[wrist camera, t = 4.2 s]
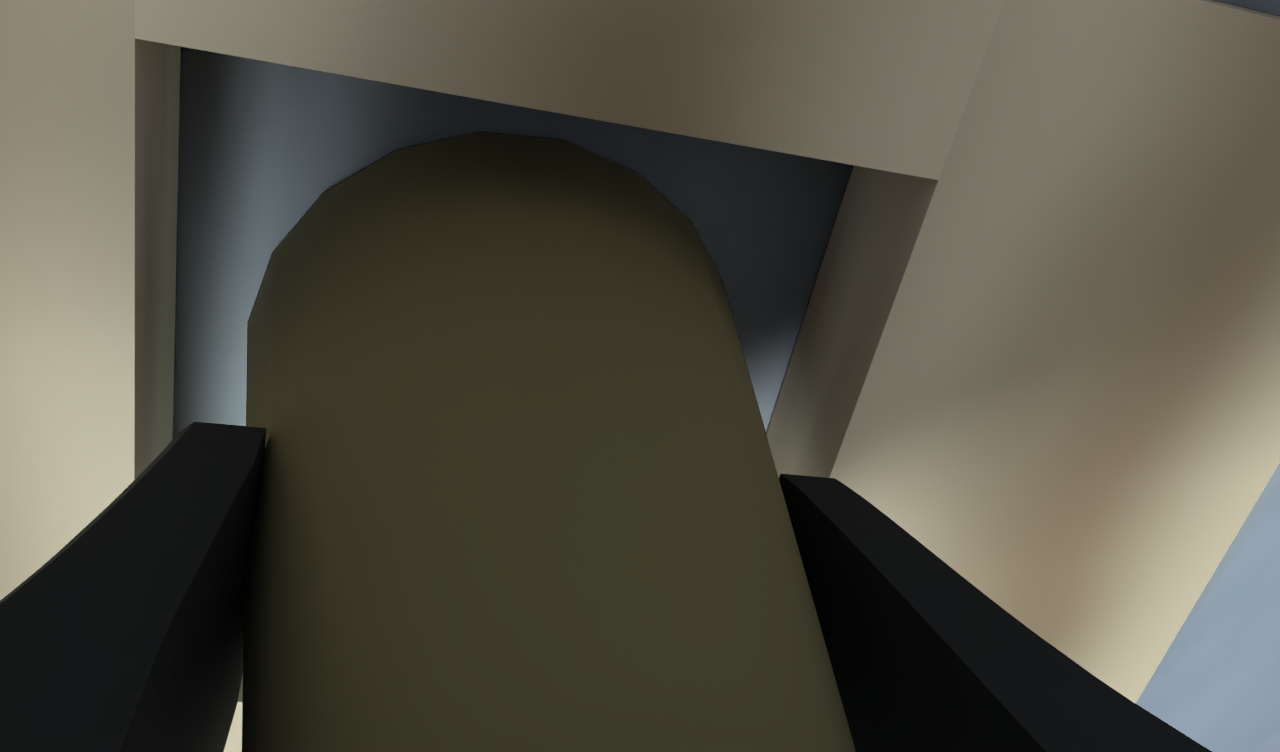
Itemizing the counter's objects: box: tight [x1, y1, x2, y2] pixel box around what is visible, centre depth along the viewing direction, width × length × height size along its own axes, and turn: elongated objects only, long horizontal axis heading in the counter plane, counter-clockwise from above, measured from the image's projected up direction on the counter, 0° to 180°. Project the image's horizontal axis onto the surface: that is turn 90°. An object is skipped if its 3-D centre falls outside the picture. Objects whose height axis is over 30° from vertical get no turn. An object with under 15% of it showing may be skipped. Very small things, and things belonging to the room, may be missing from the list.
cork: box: [242, 132, 856, 752], centre depth 8 cm, size 6×6×11 cm
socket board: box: [0, 0, 1280, 752], centre depth 12 cm, size 20×12×2 cm, turn 77°
